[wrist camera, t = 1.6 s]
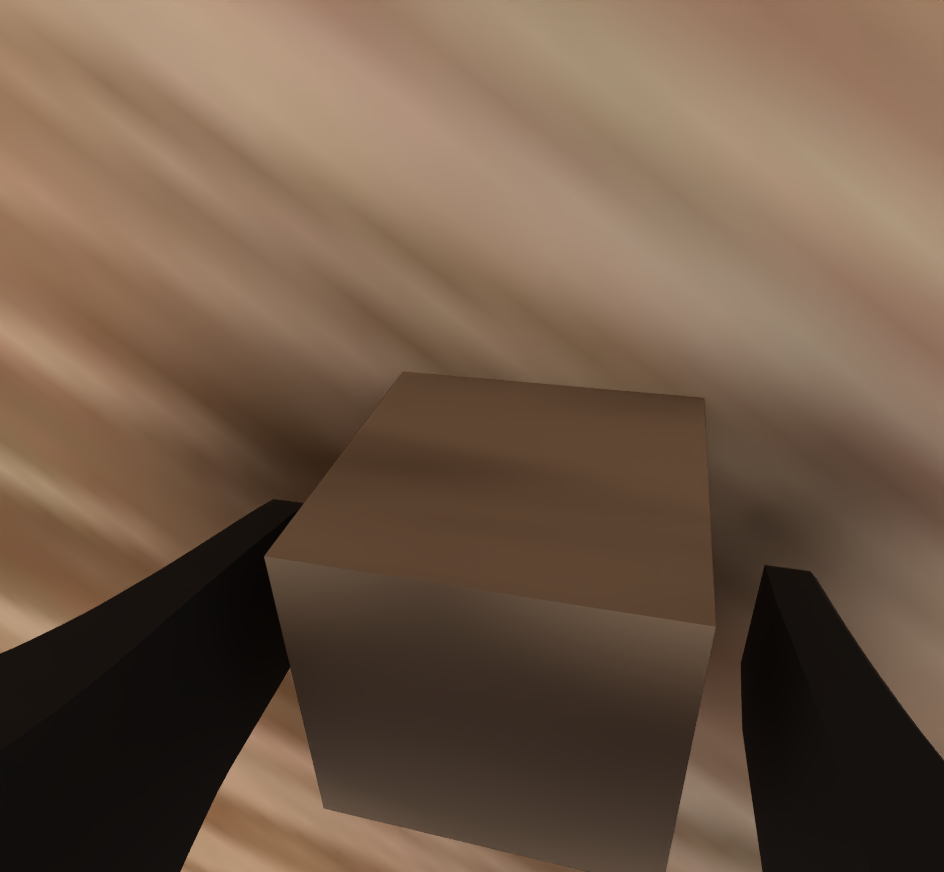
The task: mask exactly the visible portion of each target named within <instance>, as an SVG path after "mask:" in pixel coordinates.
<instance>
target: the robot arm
mask: <svg viewBox="0 0 944 872" xmlns="http://www.w3.org/2000/svg"><path fill="white" fill-rule="evenodd" d="M303 504H304V503H298V502H290V501H283V500H275V499H273V500H271V501H270V502H268V503H266V504H264V505H263V506H261V507H259V508H257V509H256V510H254V511H253V512H251V513H249V514H248V515H246V516H244V517H243V518H241V519H240V520H238V521H237V522H235V523H233V524H232V525H230V526H229V527H227V528H226V529H224V530H223V531H221V532H219V533H218V534H216V535H215V536H213V537H212V538H210V539H209V540H207V541H205V542H204V543H202V544H201V545H199V546H197V547H196V548H194V549H193V550H191V551H190V552H188V553H186V554H185V555H183V556H182V557H180V558H178V559H177V560H175V561H174V562H172V563H170V564H169V565H167V566H166V567H164V568H162V569H161V570H159V571H157V572H156V573H154V574H152V575H151V576H149V577H147V578H145V579H144V580H142V581H140V582H139V583H137V584H135V585H133V586H132V587H130V588H128V589H126V590H125V591H123V592H121V593H120V594H118V595H116V596H114V597H113V598H111V599H109V600H108V601H106V602H104V603H102V604H101V605H99V606H97V607H95V608H93V609H91V610H90V611H88V612H86V613H84V614H82V615H80V616H78V617H76V618H74V619H72V620H70V621H69V622H67V623H65V624H63V625H61V626H59V627H56V628H54V629H52V630H50V631H48V632H46V633H44V634H42V635H40V636H38V637H36V638H34V639H32V640H30V641H28V642H26V643H23V644H21V645H19V646H17V647H15V648H13V649H10V650H8V651H5V652H3V653H1V654H0V872H180V871H181V869H182V867H183V865H184V862H185V860H186V858H187V856H188V853H189V851H190V849H191V847H192V845H193V843H194V840H195V838H196V836H197V834H198V832H199V830H200V828H201V826H202V823H203V821H204V819H205V817H206V815H207V813H208V811H209V809H210V806H211V804H212V802H213V800H214V798H215V796H216V794H217V792H218V790H219V788H220V786H221V785H222V783H223V781H224V779H225V777H226V775H227V773H228V772H229V770H230V768H231V766H232V764H233V763H234V761H235V759H236V758H237V756H238V754H239V753H240V751H241V749H242V748H243V746H244V744H245V743H246V741H247V739H248V738H249V736H250V734H251V732H252V731H253V729H254V727H255V726H256V724H257V722H258V721H259V719H260V717H261V716H262V714H263V712H264V711H265V709H266V707H267V706H268V704H269V702H270V701H271V699H272V697H273V696H274V694H275V692H276V691H277V689H278V687H279V685H280V684H281V682H282V680H283V679H284V677H285V675H286V673H287V672H288V670H289V668H290V664H289V659H288V655H287V651H286V647H285V643H284V638H283V634H282V630H281V626H280V621H279V617H278V613H277V609H276V605H275V600H274V596H273V592H272V588H271V584H270V579H269V575H268V571H267V567H266V562H265V558H264V556H265V554H266V553H267V552H268V550H269V549H270V548H271V546H272V545H273V544H274V542H275V541H276V540H277V539H278V537H279V536H280V535H281V533H282V532H283V531H284V529H285V528H286V527H287V525H288V524H289V523H290V521H291V520H292V519H293V517H294V516H295V515H296V513H297V512H298V511H299V509H300V508H301V507H302V505H303ZM741 698H742V730H743V737H744V745H745V752H746V759H747V766H748V773H749V781H750V788H751V794H752V801H753V808H754V815H755V822H756V829H757V836H758V843H759V850H760V856H761V863H762V870H763V872H944V760H943V759H942V757H941V756H940V755H939V754H938V752H937V751H936V750H935V749H934V747H933V746H932V745H931V744H930V742H929V741H928V740H927V739H926V737H925V736H924V735H923V734H922V732H921V731H920V730H919V728H918V727H917V726H916V724H915V723H914V722H913V720H912V719H911V718H910V716H909V715H908V714H907V713H906V711H905V710H904V709H903V707H902V706H901V704H900V703H899V702H898V700H897V699H896V697H895V696H894V695H893V693H892V692H891V691H890V689H889V688H888V686H887V685H886V684H885V682H884V681H883V679H882V678H881V677H880V675H879V674H878V672H877V671H876V670H875V668H874V667H873V665H872V664H871V663H870V661H869V660H868V658H867V657H866V655H865V654H864V652H863V651H862V649H861V648H860V646H859V645H858V643H857V642H856V640H855V639H854V637H853V636H852V634H851V633H850V631H849V630H848V628H847V627H846V625H845V624H844V622H843V620H842V619H841V617H840V616H839V614H838V613H837V611H836V609H835V608H834V606H833V605H832V603H831V601H830V600H829V598H828V597H827V595H826V593H825V592H824V590H823V589H822V587H821V585H820V584H819V582H818V580H817V579H816V578H815V576H814V575H813V574H812V573H811V572H810V571H804V570H797V569H789V568H782V567H774V566H767V565H765V566H764V570H763V574H762V578H761V582H760V586H759V591H758V595H757V599H756V603H755V607H754V611H753V615H752V619H751V624H750V628H749V632H748V636H747V640H746V644H745V648H744V653H743V657H742V661H741Z"/></svg>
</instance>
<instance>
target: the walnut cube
mask: <svg viewBox="0 0 944 872" xmlns="http://www.w3.org/2000/svg"><path fill="white" fill-rule="evenodd" d="M264 558H265V562H266V567H267V571H268V575H269V579H270V584H271V588H272V592H273V596H274V600H275V605H276V609H277V613H278V617H279V621H280V626H281V630H282V634H283V638H284V643H285V647H286V651H287V655H288V659H289V664H290V668H291V672H292V676H293V680H294V685H295V689H296V693H297V697H298V702H299V706H300V710H301V714H302V718H303V723H304V727H305V731H306V735H307V739H308V744H309V748H310V752H311V756H312V760H313V765H314V769H315V773H316V777H317V782H318V786H319V790H320V794H321V798H322V803H323V807H324V809H329V810H333V811H337V812H341V813H345V814H349V815H354V816H358V817H362V818H366V819H370V820H374V821H379V822H383V823H387V824H391V825H395V826H399V827H404V828H408V829H412V830H416V831H420V832H425V833H429V834H433V835H437V836H441V837H445V838H450V839H454V840H458V841H462V842H466V843H470V844H475V845H479V846H483V847H487V848H491V849H495V850H500V851H504V852H508V853H512V854H516V855H520V856H525V857H529V858H533V859H537V860H541V861H545V862H550V863H554V864H558V865H562V866H566V867H570V868H575V869H579V870H583V871H587V872H666V867H667V862H668V857H669V853H670V848H671V843H672V838H673V833H674V828H675V823H676V819H677V814H678V809H679V804H680V799H681V794H682V789H683V785H684V780H685V775H686V770H687V765H688V760H689V755H690V751H691V746H692V741H693V736H694V731H695V726H696V721H697V717H698V712H699V707H700V702H701V697H702V692H703V687H704V683H705V678H706V673H707V668H708V663H709V658H710V654H711V649H712V644H713V639H714V634H715V629H716V617H715V598H714V578H713V558H712V539H711V519H710V499H709V480H708V460H707V441H706V421H705V401H704V398H699V397H687V396H676V395H664V394H653V393H641V392H630V391H618V390H607V389H595V388H584V387H572V386H561V385H549V384H538V383H526V382H515V381H503V380H491V379H480V378H468V377H457V376H445V375H434V374H422V373H411V372H402V374H401V375H400V376H399V378H398V379H397V380H396V382H395V383H394V384H393V386H392V387H391V388H390V390H389V391H388V392H387V394H386V395H385V396H384V398H383V399H382V400H381V402H380V403H379V404H378V406H377V407H376V408H375V410H374V411H373V412H372V414H371V415H370V416H369V418H368V419H367V420H366V422H365V423H364V424H363V426H362V427H361V428H360V430H359V431H358V432H357V434H356V435H355V436H354V438H353V439H352V440H351V442H350V443H349V444H348V446H347V447H346V448H345V449H344V451H343V452H342V453H341V455H340V456H339V457H338V459H337V460H336V461H335V463H334V464H333V465H332V467H331V468H330V469H329V471H328V472H327V473H326V475H325V476H324V477H323V479H322V480H321V481H320V483H319V484H318V485H317V487H316V488H315V489H314V491H313V492H312V493H311V495H310V496H309V497H308V499H307V500H306V501H305V503H304V504H303V505H302V507H301V508H300V509H299V511H298V512H297V513H296V515H295V516H294V517H293V519H292V520H291V521H290V523H289V524H288V525H287V527H286V528H285V529H284V531H283V532H282V533H281V535H280V536H279V537H278V539H277V540H276V541H275V542H274V544H273V545H272V546H271V548H270V549H269V550H268V552H267V553H266V554H265V556H264Z"/></svg>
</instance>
